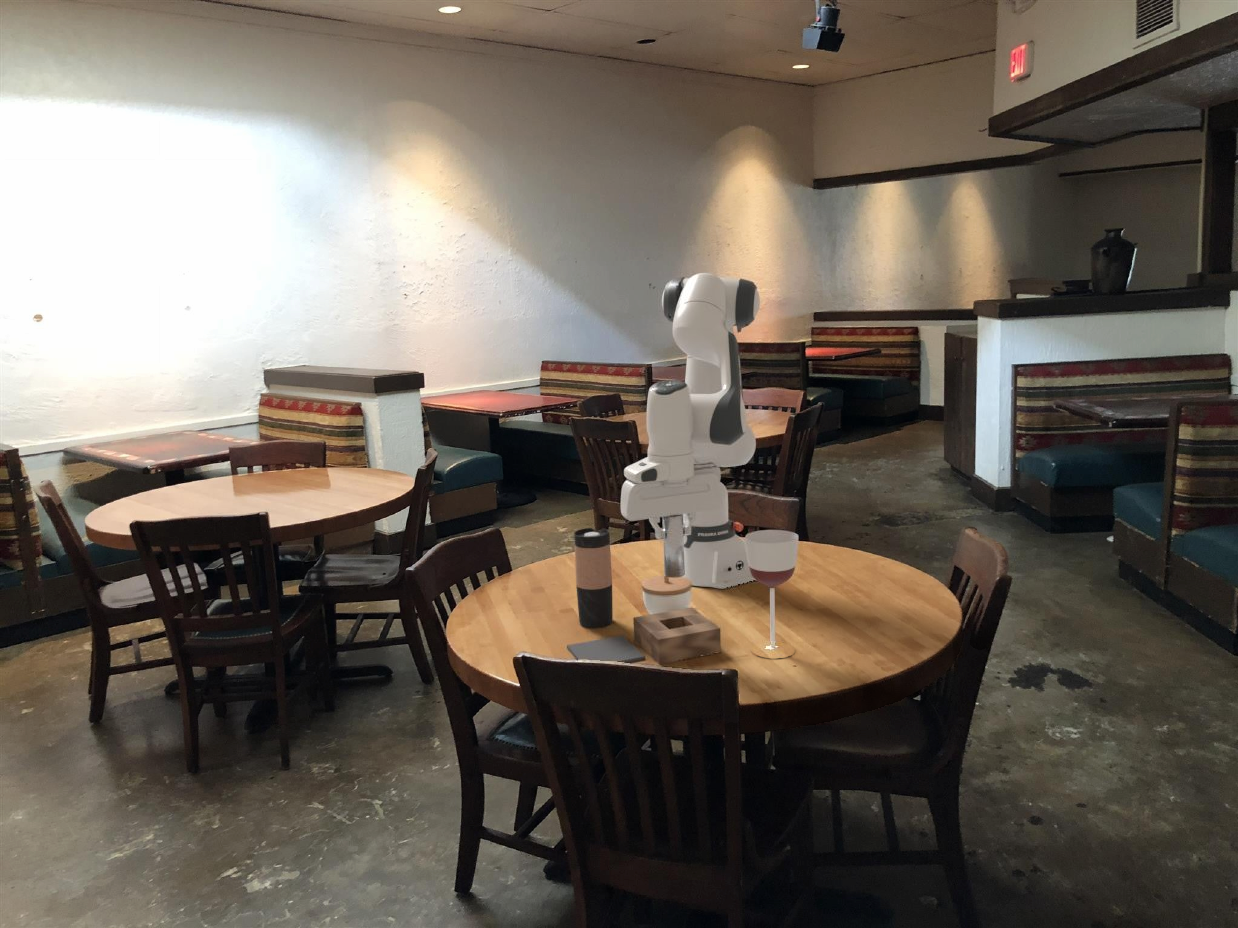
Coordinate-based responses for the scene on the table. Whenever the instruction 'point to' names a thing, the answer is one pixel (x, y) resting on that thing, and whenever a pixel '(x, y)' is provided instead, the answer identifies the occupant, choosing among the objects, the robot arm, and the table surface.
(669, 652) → the block
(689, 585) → the lidded jar
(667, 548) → the peg
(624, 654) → the mat
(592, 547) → the travel mug
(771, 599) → the wineglass
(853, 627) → the table surface
